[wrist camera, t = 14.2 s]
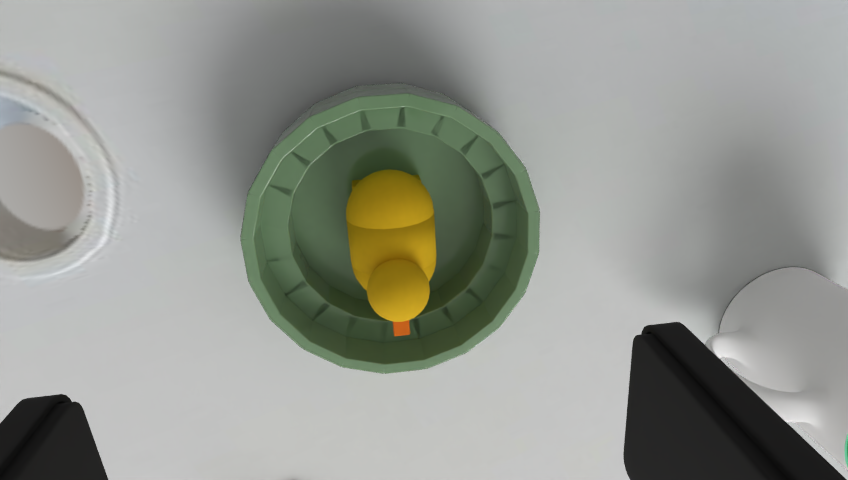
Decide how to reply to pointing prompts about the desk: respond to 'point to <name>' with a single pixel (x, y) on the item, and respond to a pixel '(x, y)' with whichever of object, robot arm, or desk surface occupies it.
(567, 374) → the desk surface
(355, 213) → the duck
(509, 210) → the bowl
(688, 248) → the desk surface
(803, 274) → the mug
